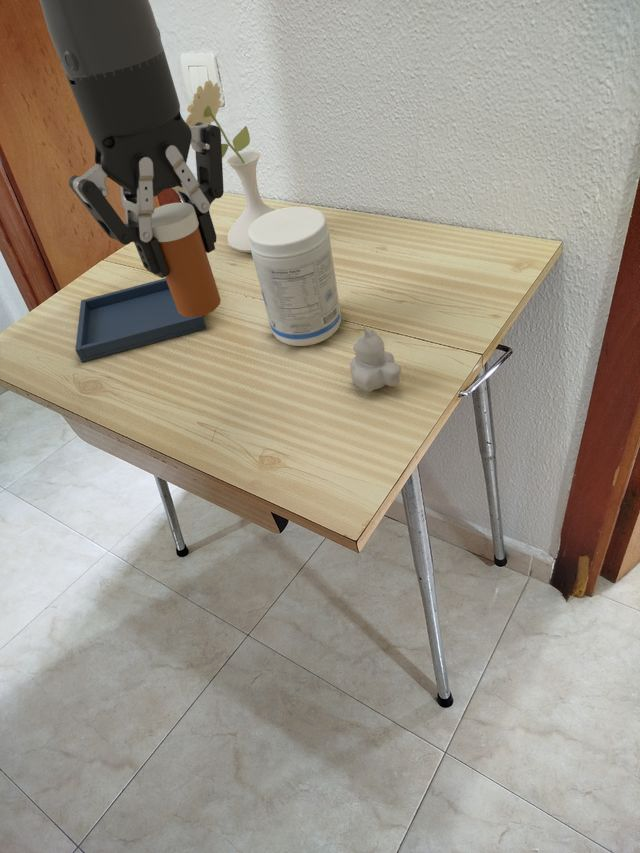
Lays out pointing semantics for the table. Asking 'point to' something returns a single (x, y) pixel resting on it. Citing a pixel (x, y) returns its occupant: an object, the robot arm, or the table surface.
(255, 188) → the flower in vase
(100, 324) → the tray
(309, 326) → the supplement tub
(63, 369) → the table surface
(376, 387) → the grey figurine
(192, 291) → the pill bottle
